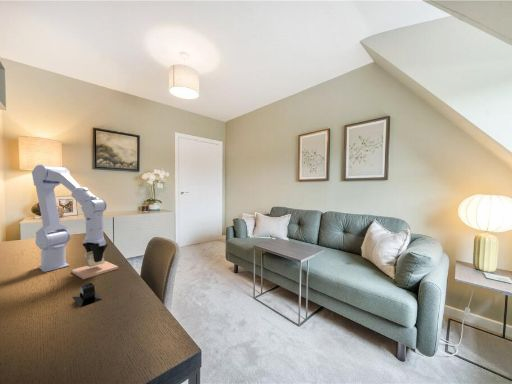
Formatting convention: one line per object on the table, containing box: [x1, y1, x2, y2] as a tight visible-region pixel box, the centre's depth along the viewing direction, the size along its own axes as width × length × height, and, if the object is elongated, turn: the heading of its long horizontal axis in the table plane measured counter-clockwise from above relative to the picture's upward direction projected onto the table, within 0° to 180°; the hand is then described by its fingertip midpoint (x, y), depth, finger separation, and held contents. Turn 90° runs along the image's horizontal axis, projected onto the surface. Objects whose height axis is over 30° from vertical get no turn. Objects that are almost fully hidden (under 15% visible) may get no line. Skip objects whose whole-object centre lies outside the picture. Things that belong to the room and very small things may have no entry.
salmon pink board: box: [71, 260, 119, 280], centre depth 86 cm, size 12×12×1 cm
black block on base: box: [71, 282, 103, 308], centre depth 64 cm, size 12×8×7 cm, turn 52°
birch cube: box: [84, 251, 105, 267], centre depth 86 cm, size 5×5×5 cm
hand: (95, 260), depth 86 cm, fingers closed on birch cube, 5 cm apart
